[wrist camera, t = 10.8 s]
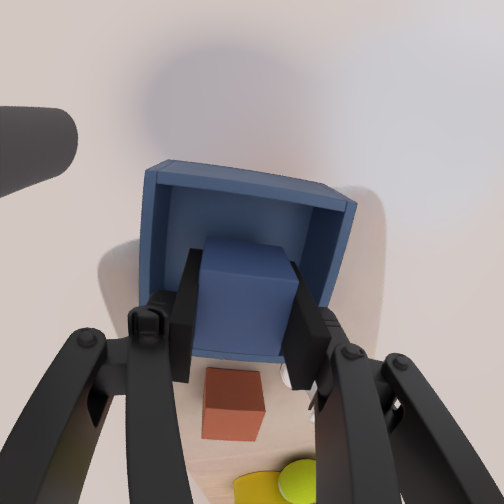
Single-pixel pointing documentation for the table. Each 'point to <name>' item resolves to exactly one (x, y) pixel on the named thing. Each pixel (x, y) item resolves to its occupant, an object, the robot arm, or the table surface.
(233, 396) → the terracotta block
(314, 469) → the tennis ball
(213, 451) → the table surface
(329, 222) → the blue bin
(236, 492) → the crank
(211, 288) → the blue block
